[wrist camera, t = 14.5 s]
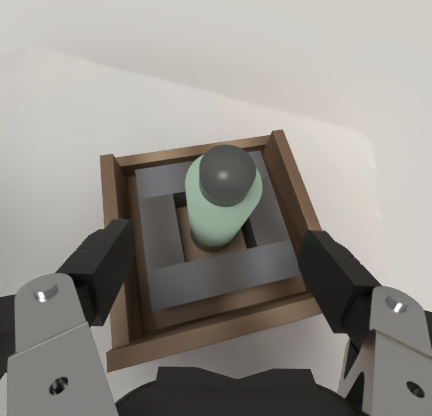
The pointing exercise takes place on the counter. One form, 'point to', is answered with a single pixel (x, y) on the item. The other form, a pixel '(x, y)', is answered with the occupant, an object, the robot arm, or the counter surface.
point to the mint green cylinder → (221, 195)
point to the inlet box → (204, 254)
